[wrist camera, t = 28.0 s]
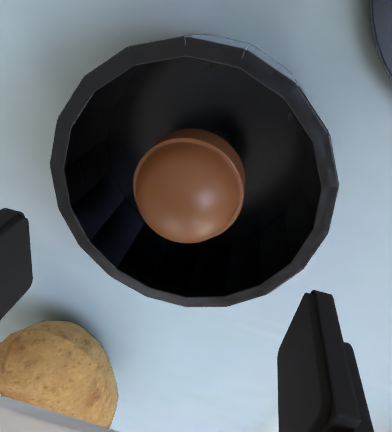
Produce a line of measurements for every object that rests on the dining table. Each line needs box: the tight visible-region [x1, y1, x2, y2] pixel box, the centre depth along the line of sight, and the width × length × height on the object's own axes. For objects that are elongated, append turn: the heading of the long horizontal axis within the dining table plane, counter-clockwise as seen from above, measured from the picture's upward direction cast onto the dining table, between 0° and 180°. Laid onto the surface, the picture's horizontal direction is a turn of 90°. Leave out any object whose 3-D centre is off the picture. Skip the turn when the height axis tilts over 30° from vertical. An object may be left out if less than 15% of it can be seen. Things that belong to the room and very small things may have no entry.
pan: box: [50, 34, 339, 307], centre depth 21 cm, size 15×15×6 cm
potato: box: [0, 321, 118, 428], centre depth 32 cm, size 10×14×8 cm
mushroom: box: [133, 128, 245, 243], centre depth 20 cm, size 6×6×8 cm
